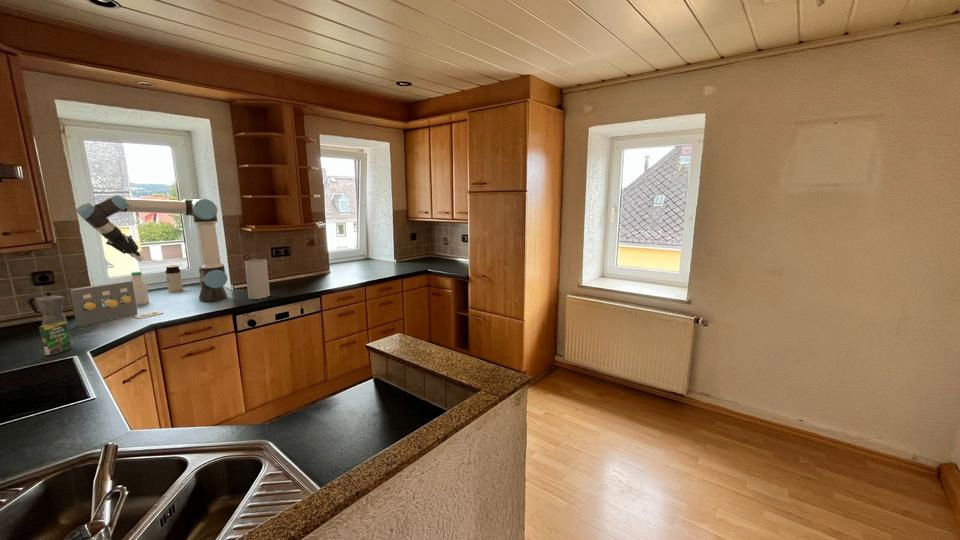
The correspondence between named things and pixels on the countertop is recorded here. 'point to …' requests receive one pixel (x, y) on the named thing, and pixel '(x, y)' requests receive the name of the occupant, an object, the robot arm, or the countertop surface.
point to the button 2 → (125, 299)
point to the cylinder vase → (257, 278)
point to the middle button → (110, 303)
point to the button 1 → (89, 305)
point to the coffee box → (55, 337)
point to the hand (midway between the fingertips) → (141, 259)
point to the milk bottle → (139, 289)
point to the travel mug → (173, 278)
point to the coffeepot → (49, 308)
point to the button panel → (95, 296)
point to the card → (148, 314)
